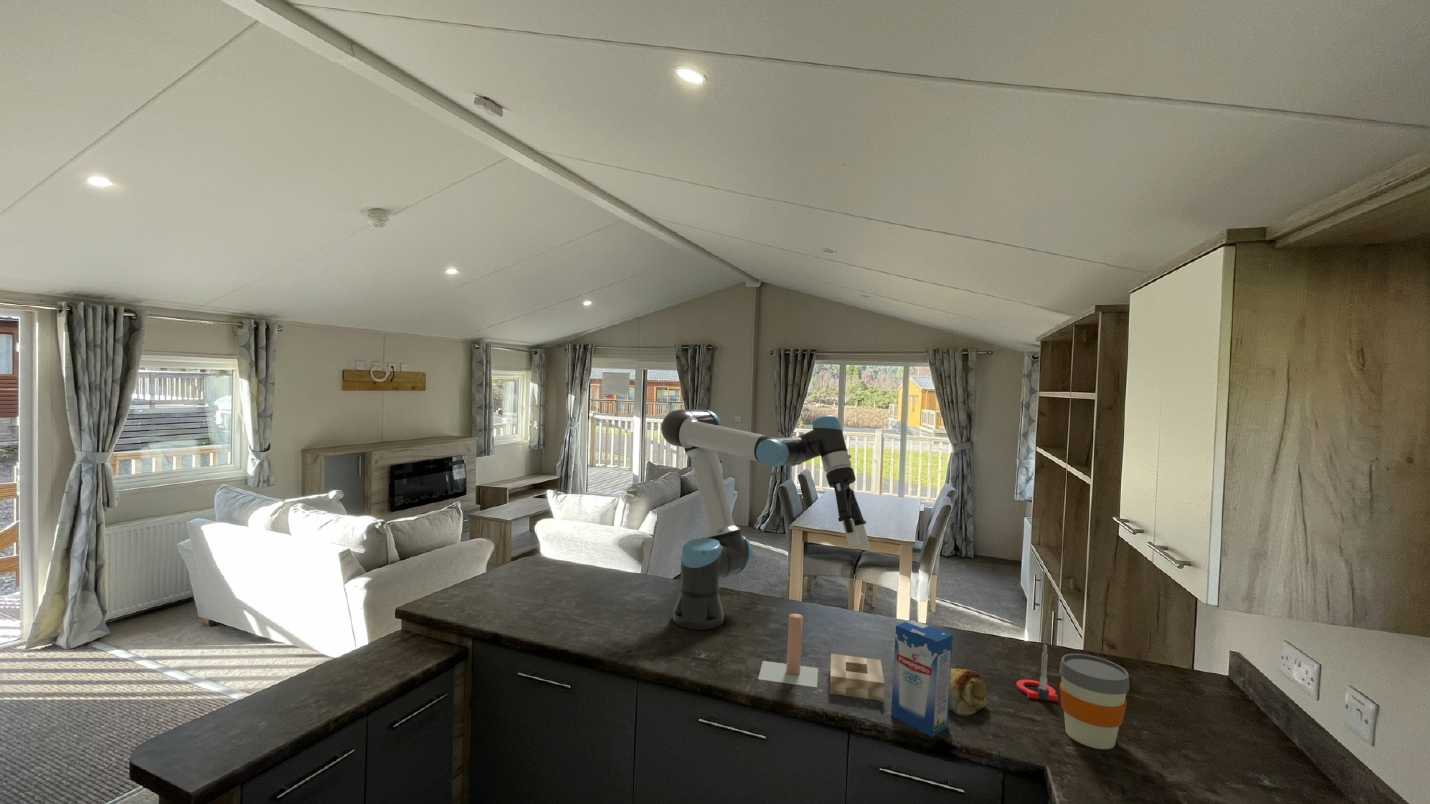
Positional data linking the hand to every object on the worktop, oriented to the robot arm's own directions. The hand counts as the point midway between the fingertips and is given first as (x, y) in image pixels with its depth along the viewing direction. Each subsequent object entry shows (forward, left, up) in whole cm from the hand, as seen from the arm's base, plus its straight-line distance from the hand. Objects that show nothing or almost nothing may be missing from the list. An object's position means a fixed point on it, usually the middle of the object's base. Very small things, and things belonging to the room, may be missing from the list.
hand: (860, 547), depth 158 cm
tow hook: (+43, -5, -30) cm, 53 cm away
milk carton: (+13, -27, -30) cm, 42 cm away
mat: (-16, -14, -30) cm, 36 cm away
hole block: (0, -15, -30) cm, 33 cm away
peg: (-15, -13, -29) cm, 35 cm away
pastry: (+23, -14, -30) cm, 40 cm away
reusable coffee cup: (+48, -23, -30) cm, 61 cm away
